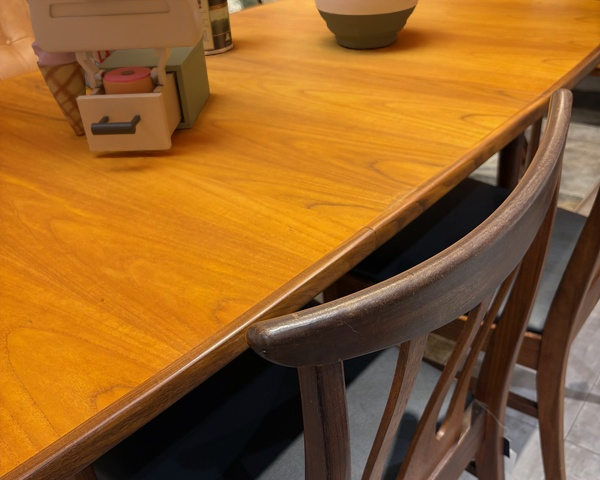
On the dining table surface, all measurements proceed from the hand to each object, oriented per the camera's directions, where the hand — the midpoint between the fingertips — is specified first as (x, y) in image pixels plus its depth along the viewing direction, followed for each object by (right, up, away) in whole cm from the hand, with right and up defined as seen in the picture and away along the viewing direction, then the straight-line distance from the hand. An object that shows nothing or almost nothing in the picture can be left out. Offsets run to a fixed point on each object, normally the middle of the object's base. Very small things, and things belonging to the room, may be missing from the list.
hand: (130, 85), depth 78 cm
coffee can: (+3, +22, +42) cm, 47 cm away
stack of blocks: (-12, +10, +27) cm, 31 cm away
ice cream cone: (-9, -4, +9) cm, 13 cm away
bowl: (+34, +22, +39) cm, 56 cm away
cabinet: (+1, +1, +14) cm, 14 cm away
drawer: (0, -6, +3) cm, 7 cm away
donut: (0, -1, +1) cm, 2 cm away
